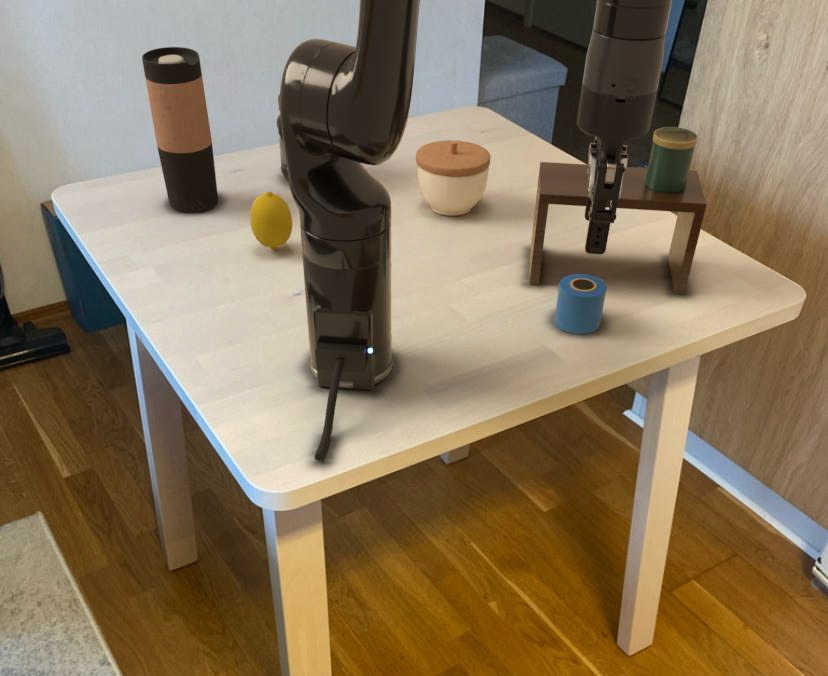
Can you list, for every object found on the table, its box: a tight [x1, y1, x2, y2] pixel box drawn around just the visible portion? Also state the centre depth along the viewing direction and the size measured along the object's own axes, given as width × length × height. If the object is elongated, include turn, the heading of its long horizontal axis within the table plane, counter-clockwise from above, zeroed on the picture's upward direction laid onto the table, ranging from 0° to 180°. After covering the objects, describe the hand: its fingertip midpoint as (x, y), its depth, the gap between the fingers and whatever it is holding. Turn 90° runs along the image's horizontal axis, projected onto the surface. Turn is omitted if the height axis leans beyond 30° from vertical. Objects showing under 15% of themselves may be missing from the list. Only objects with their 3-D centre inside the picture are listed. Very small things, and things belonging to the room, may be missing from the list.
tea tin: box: [645, 126, 699, 193], centre depth 109 cm, size 5×5×6 cm
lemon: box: [250, 191, 293, 251], centre depth 120 cm, size 6×6×8 cm
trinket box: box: [415, 139, 492, 217], centre depth 130 cm, size 11×11×9 cm
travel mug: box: [141, 46, 219, 214], centre depth 126 cm, size 8×8×20 cm
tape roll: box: [553, 273, 608, 335], centre depth 108 cm, size 6×6×5 cm
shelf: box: [528, 161, 708, 296], centre depth 115 cm, size 10×20×12 cm, turn 84°
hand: (594, 235), depth 101 cm, fingers open, 8 cm apart
